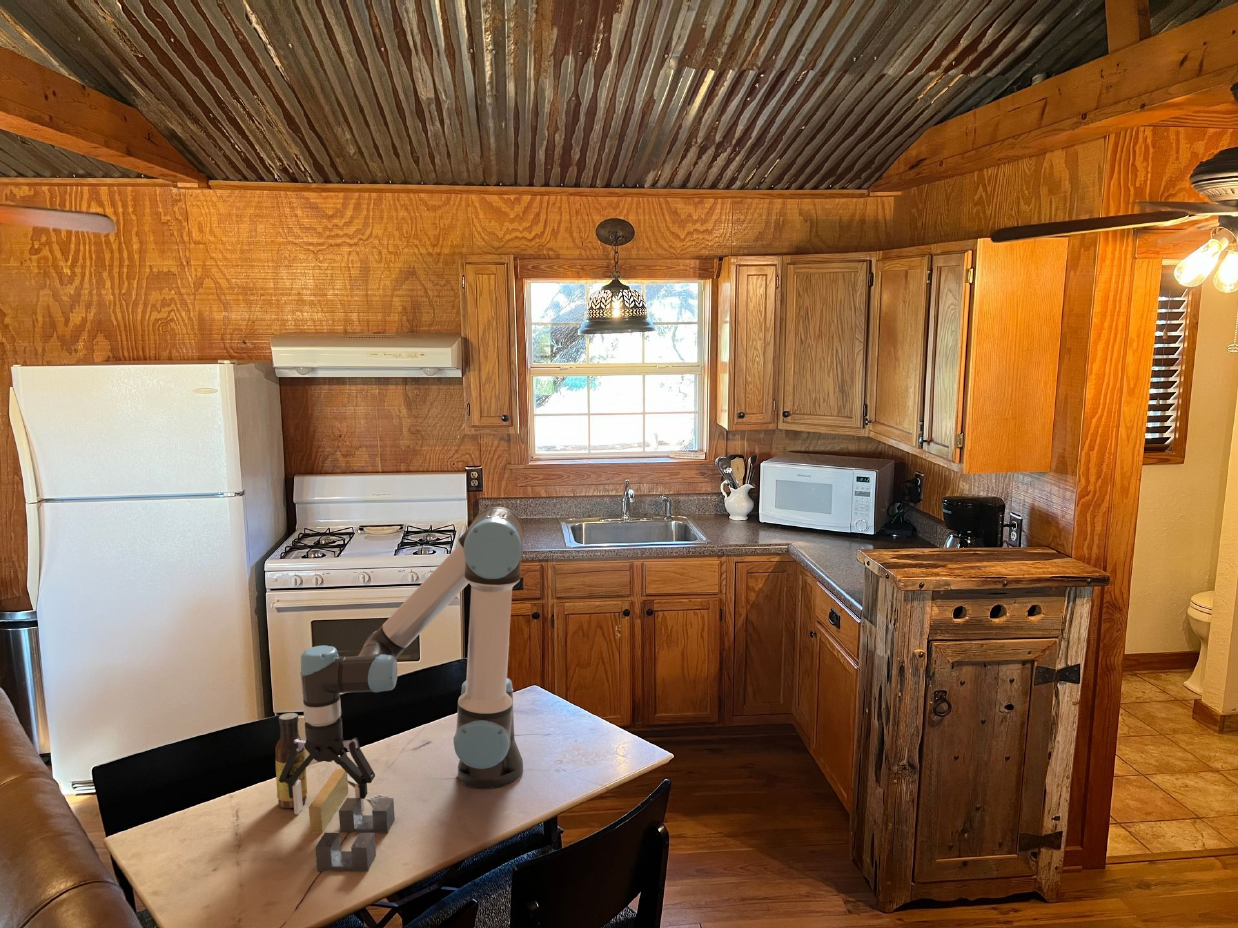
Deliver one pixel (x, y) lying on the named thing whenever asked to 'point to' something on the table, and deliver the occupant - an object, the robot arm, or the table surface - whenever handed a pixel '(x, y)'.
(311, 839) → the table surface
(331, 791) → the link bar
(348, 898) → the table surface
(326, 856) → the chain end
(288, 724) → the sauce bottle
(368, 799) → the fork
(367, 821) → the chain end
